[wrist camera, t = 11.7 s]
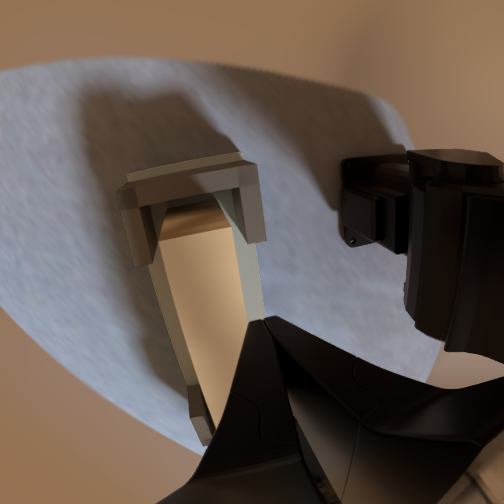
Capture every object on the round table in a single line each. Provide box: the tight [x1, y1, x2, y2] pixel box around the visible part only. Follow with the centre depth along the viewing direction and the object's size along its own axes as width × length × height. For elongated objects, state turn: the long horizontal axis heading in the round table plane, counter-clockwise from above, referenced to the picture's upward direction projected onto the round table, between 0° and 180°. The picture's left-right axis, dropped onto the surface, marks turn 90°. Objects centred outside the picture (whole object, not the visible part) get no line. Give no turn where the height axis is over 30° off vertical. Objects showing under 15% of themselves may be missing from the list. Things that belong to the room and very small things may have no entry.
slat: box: [158, 199, 248, 429], centre depth 18 cm, size 3×16×6 cm, turn 7°
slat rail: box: [116, 152, 267, 446], centre depth 20 cm, size 7×21×4 cm, turn 7°
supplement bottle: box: [294, 418, 342, 504], centre depth 24 cm, size 7×7×12 cm
